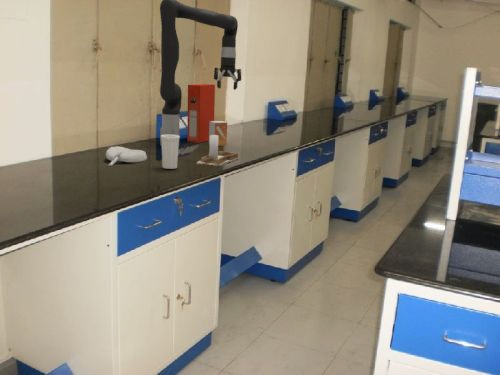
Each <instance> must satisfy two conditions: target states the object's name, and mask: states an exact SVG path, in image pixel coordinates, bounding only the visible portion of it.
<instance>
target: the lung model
mask: <svg viewBox="0 0 500 375" xmlns="http://www.w3.org/2000/svg"><path fill="white" fill-rule="evenodd" d="M105 157H106V159H107V160H108V161H110V162H109V163H108V167H110V166H111V167H112V166H113V165H115V163H117V162H125V163H139V162H144V161H146V160H147V159H148V157H147V153H146V151H145V150H141V149H130V148H127V147H124V146H118V145H117V146H110V147H109V148H108V149H107V150H106V152H105Z"/></svg>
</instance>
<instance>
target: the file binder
mask: <svg viewBox="0 0 500 375" xmlns="http://www.w3.org/2000/svg"><path fill="white" fill-rule="evenodd" d="M215 87H216V85H215V84H213V83H211V84H209V83H199V84H197V83H195V84H188V85H187V138H186V139H187V142H188V141H190V142H189V143H193V142H194V143H193V144H201V143H204V142H209V123H210V121H215V96H216V94H215V93H216V88H215Z"/></svg>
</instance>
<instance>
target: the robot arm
mask: <svg viewBox="0 0 500 375" xmlns="http://www.w3.org/2000/svg"><path fill="white" fill-rule="evenodd" d="M159 13H160V23H161V24H160V25H161V32H160V33H161V38H160V39H161V40H160V41H161V44H160V45H161V46H160V47H161V48H160V50H161V51H160V53H161V54H160V57H161V58H160V59H161V62H160V63H161V64H160V65H161V66H160V67H161V74H160V75H161V76H160V77H161V78H160V87H159V94H160V95H159V96H160V97H161V99H162V100H163V101H164V105H163V107H162V109H161V127H160V128H159V130H160V134H159V137H160V138H159V139H160V140H159V142H160V143H159V144H160V146H161V147H162V140H161V135H168V134H170V135H178V136H180V114H181V109H182V98H183V97H182V95H183V94H182V88H181V86H180V85H179V84H177V83H176V71H177V68H178V64H179V61H180V42H179V41H180V40H179V38H178V34H177V31H176V30H177V29H176V19H186V20H191V21H194V22H197V23H199V24H202V25H206V26H209V27H217V28H219V29H223V36H222V38H221V48H220V49H221V50H220V67H214V72H213V79H214V80H215V81H216V86H217V87H216V88H218V89H222V79H223V78H231V79H232V80H233V87H232V88H233V90H237V89H238V83H239V82H241V81H242V69H241V68H238V69H237V68H236V58H237V52H236V45H237V44H236V43H237V40H236V39H237V33H238V26H239V24H238V19H237V18H236V17H235V16H234V15H229V14H225V13H219V12H217V11H214V10H209V9H205V8H198V7H194V6H189V5H187V4H184V3H182V2H179V1H178V0H162V1H161V2H160V4H159ZM219 72H220V74H219ZM235 73H236V75H235ZM178 147H180V144H179V145H178Z"/></svg>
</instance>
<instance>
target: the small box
mask: <svg viewBox="0 0 500 375" xmlns="http://www.w3.org/2000/svg"><path fill="white" fill-rule="evenodd" d="M227 134H228V122H227V121H223V120H214V121H210V123H209V141H208V145H209V146H210V135H218V147H219V146H220V147H221V146H225V147H226V146H227V142H228V141H227V138H228V137H227V136H228V135H227Z"/></svg>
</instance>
